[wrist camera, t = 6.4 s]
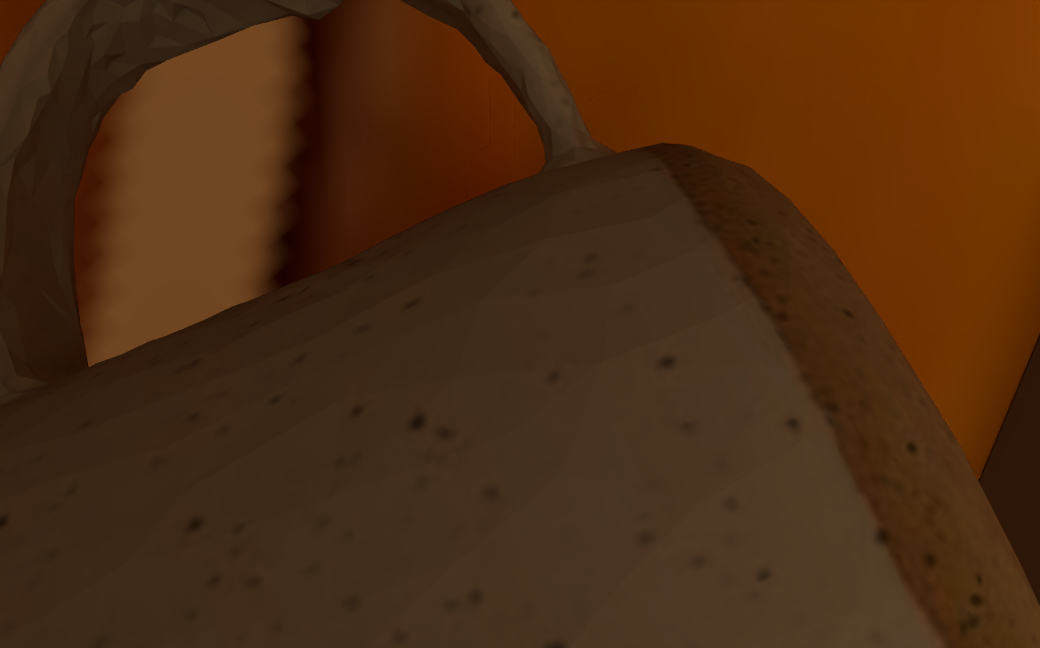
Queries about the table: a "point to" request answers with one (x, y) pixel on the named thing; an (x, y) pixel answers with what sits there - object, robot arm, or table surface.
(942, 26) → the table surface
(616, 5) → the table surface
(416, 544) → the ceramic mug
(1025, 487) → the slate block
